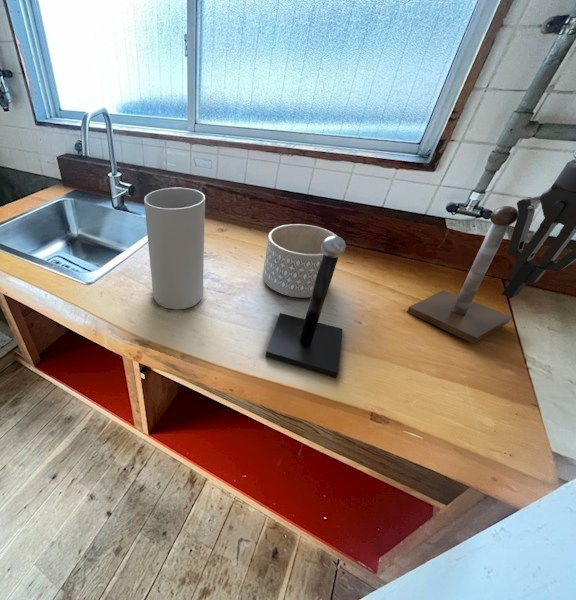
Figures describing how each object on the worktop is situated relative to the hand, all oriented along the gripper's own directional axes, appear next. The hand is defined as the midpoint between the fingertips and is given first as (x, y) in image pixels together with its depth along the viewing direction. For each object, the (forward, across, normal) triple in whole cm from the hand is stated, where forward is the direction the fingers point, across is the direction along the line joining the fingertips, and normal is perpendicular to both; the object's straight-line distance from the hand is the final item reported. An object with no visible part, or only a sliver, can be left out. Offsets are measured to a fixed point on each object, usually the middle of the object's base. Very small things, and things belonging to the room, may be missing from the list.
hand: (509, 294), depth 61 cm
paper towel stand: (-2, +10, 0) cm, 11 cm away
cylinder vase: (+10, +43, +49) cm, 66 cm away
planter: (+10, +33, +20) cm, 40 cm away
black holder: (-2, +12, +32) cm, 34 cm away
